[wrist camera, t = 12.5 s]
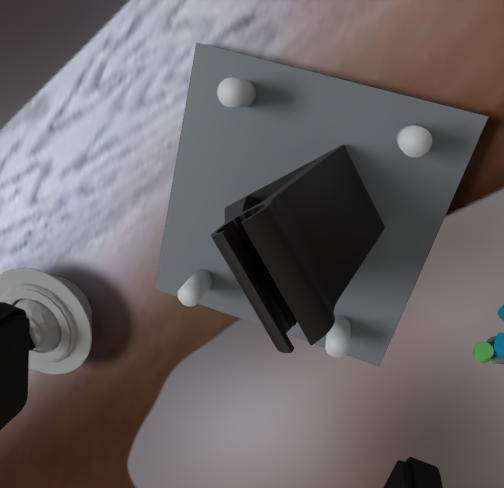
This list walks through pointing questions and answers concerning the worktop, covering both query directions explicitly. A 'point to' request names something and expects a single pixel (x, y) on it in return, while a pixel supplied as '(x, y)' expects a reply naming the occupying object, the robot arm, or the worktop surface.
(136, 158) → the worktop surface
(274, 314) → the phone stand
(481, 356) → the gear
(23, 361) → the robot arm
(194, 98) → the base plate
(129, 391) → the worktop surface
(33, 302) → the grey spinning top
